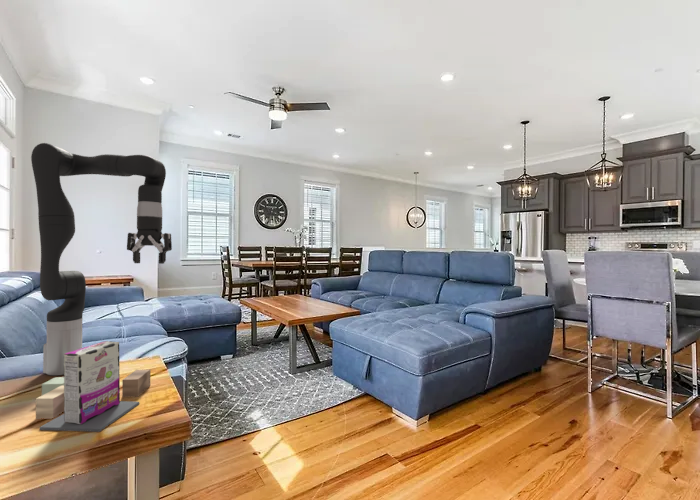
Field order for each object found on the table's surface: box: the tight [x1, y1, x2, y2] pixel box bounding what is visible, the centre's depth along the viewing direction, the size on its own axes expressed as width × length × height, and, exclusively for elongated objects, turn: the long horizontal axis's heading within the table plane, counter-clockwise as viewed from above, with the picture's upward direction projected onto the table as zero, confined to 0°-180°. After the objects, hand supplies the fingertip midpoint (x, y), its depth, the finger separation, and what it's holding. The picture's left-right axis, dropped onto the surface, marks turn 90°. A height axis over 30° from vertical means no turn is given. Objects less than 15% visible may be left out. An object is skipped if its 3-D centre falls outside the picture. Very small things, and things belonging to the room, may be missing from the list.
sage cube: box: [41, 376, 64, 396], centre depth 95 cm, size 5×5×5 cm
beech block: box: [35, 386, 64, 420], centre depth 88 cm, size 8×4×5 cm, turn 3°
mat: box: [39, 400, 140, 433], centre depth 85 cm, size 14×14×1 cm
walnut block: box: [121, 368, 151, 398], centre depth 100 cm, size 8×4×5 cm, turn 8°
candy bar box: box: [63, 340, 121, 424], centre depth 86 cm, size 11×5×16 cm, turn 170°
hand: (149, 263), depth 118 cm, fingers open, 8 cm apart
